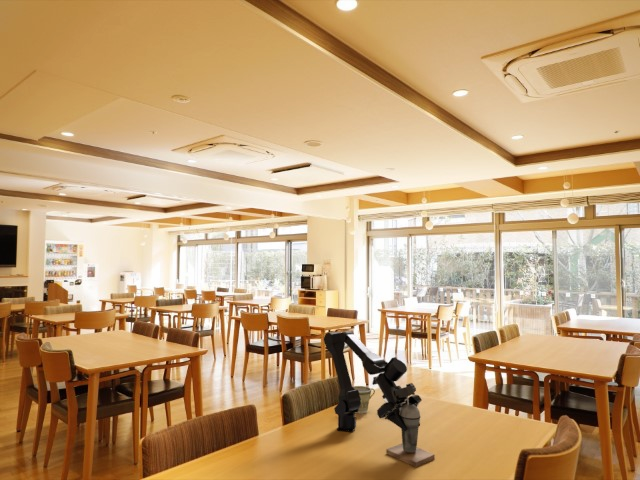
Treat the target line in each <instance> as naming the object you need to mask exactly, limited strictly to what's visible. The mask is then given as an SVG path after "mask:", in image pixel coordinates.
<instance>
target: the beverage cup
mask: <svg viewBox="0 0 640 480" xmlns="http://www.w3.org/2000/svg"><path fill="white" fill-rule="evenodd" d="M408 398H409V396H408V397H407V404H405V405H404V406H403V407H402V408H401V410H400V416H401V418H402V419H403V421H404V423H405V425H406V427H407V431H404V430H402V429H401V428H400V430H401V442H402V443H401V444H403V450H404V451H406V452H416V447H418V439H419V428H420V426H419V422H421V412H420V410H419V408H418V406H417V407H416V406H415V405H414V404H410V403H409V400H408Z"/></svg>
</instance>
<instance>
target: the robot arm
mask: <svg viewBox="0 0 640 480" xmlns="http://www.w3.org/2000/svg"><path fill="white" fill-rule="evenodd" d="M323 342H324V345H325V348H326V350H327V351H328V352H329V353H330V355H331V356H332V361H333V365H334V368H335V369H334V370H335V374H336V377H337V381H338V386H339V394H338V403H337V405H335V407H334V413H335V415H337V428H336V430H337V431H340V432H341V431H342V432H349V433H353V432H354V430H355V429H356V428H357V417H356V414H357V413H356V412H358V410H359V407H360V405H361V401H360V400H361V398H360V395H359V391H358V390H355V389H354V388H353V385H352V380H351V377H350V373H349V369H348V366H347V362H346V357H345V354H344V349H345V347H346V346H348V347H349V348H350V350H352V352H353V353H354V354H355V355H356V356H357V358H359V359H360V361H361V363H362V367H363V369H365V372H366V373H367V374H368V375H371V376H373V375H377V376H373V378H372V385H373V386H375V385H378V387H379V389H380V390H381V392H382V394H383V395H382V396H381V397H382V399H383V400H384V399H385V398H386V399H387V401H388V402H387V403H386V402H384V403H383V404H381V406H379V408H378V409H377V411H376V415H377V416H378V418H379V419H385V420H388V421H389V422H391V423H392V424H394V425H395V426H397V427H399V429H400V430H401V429H402V430H404V431H407V427H406V425H405V423H404V421H403V419H402V418H401V416H400V410H399V409H400V408H402V407H403V406H404V405H405V404H407V400H406V401H405V399H407V397H408V400H409V403H410V404H414V405H415V406H416V407H417V408H418V406H419V405H418V404H420V403H421V402H422V398H421V396H420V395H419V394H415V392H417V387H416V386H415V385H414V383H413V382H410V383H407V384H406V385H405V386H404V387H402V386H401V385H397V384H396V382H398V381H399V380H400V378H402V377H403V376H404V375H405V374H406V372H407V371H408V368H407V365H406V364H405V363H404V362H403V361H401V359H398V358H397V357H396V356H395V357H394V356H393V357H391V359H390V360H389V362H388V361H386V360H385V359H384V358H383V357H382V356H381V355H379V354H377V353H375V352H372V351H371V350H370V349H369V348H368V347H366V345H365V344H364V342H362V341H361V340H360V339H359V338H358V337H357V336H356V335H355V333H354V332H353V330H352V331H351V330H346V331H345V330H344V331H342V332H341V331H331V332H326V333H325V335H324V337H323ZM417 405H418V406H417ZM420 426H421V421H419V427H420Z"/></svg>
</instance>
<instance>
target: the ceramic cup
mask: <svg viewBox="0 0 640 480" xmlns="http://www.w3.org/2000/svg"><path fill="white" fill-rule="evenodd" d="M352 387H353V388H354V389H355V390H358V391H359V395H360V398H361V400H360V401H361V405H360V407H359V410H358V412H356V413H355V414H360V415H361V414H366V413H368V409H369V404H370V400H371V398H372V397H373V396H374V395H375V393H376V390H375V388H373V387H372V388H370V387H369V386H365V385H354V386H353V385H352ZM372 391H373V393H372Z"/></svg>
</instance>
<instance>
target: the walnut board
mask: <svg viewBox="0 0 640 480" xmlns="http://www.w3.org/2000/svg"><path fill="white" fill-rule="evenodd" d="M385 451H386V455H389V456H390V457H393V458H395V459H397V460H399V461H402V462H404V463H406V464H408V465H411V466H413V467H415V468H417V467H420V466H422V465H424V464H426V463H429V462H430V461H433V460H435V458H436V457H435V456H436V455H435V454H434V453H432V452H430V451H427V450H425V449H422V448H419V447H418V446H417V447H416V452H406V451H404V450H403V444H402V443H399V444H397V445H394V446H392V447H388V448H386V449H385Z"/></svg>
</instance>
